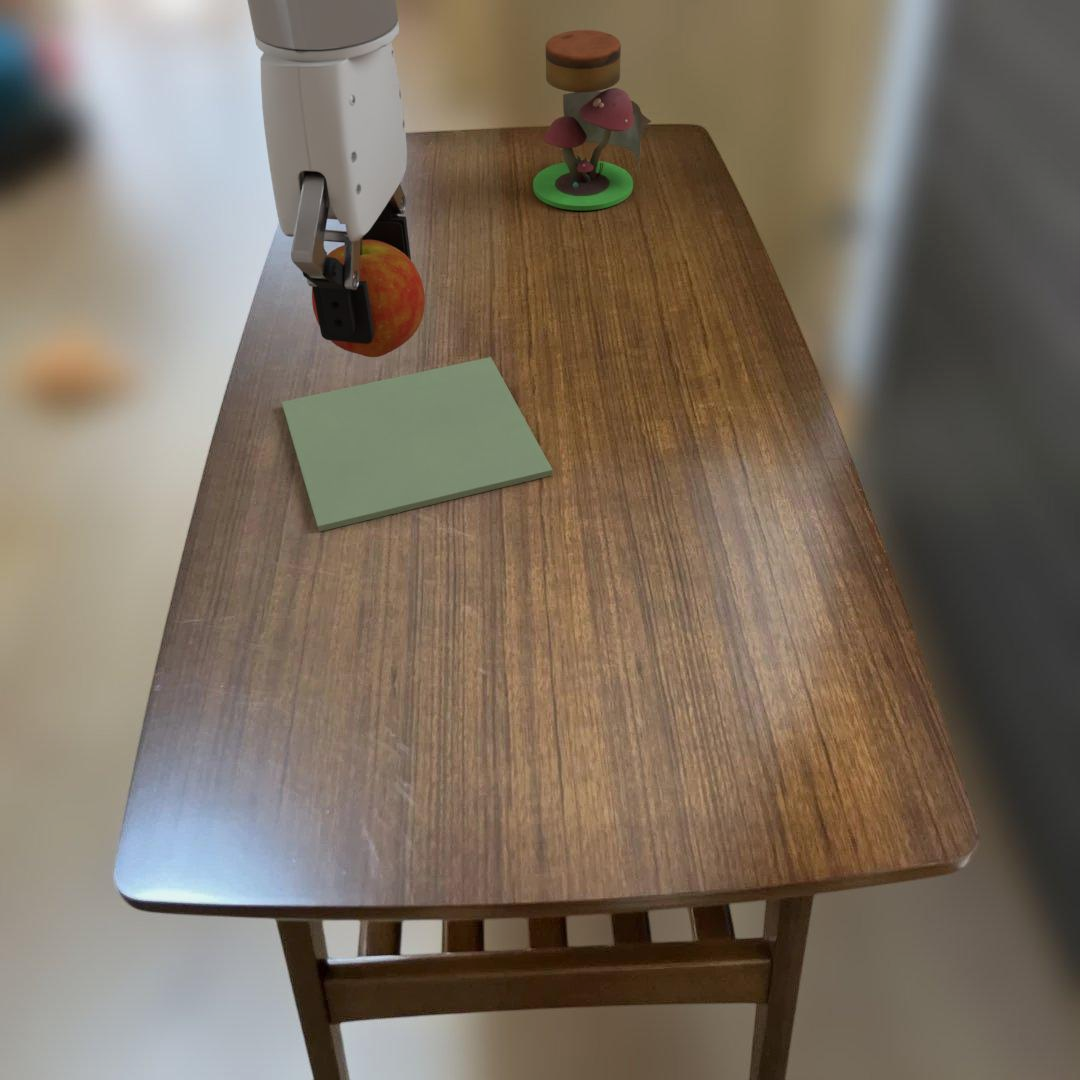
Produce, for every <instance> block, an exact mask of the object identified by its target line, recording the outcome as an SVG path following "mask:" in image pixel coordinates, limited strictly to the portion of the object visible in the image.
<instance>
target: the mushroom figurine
mask: <svg viewBox="0 0 1080 1080" xmlns="http://www.w3.org/2000/svg"><path fill="white" fill-rule="evenodd" d="M621 47H622V45H621V42H620V39H618V38H617V37H616V36H615V35H613V34H610V33H608V32H605V31H601V30H593V29H592V30H591V29H578V30H569V31H563V32H561V33H558V34H555V35H553V36H552V37H550V38H549V39H548V40H547V41H546V43H545V79H546V82H547V83H548V85H550V86H551V87H552V88H555V89H557V90H561V91H564V92H569V93H565V94H562V108H563V109H562V111H563V116H560V117H558V118H556V119H554V120H553V122H552V123H551V124H550V125H549V127H548V128H547V130H546V132H545V134H544V135H543V137H542V140H543V142H544V143H545V144H548V145H551V146H554V147H557V148H562V159H563V161H562V162H558V163H554V164H552V165H550V166H547V167H545V168H544V169H542V170H541V171H538V173H537V174H536V175H535V177H534V178H533V181H532V190H533V193H534V195H535V196H536V197H537V198H538V200H540V201H541V202H543V203H545V204H546V205H548V206H551V207H554V208H557V209H562V210H568V211H580V212H581V211H582V212H583V211H585V212H586V211H596V210H602V209H606V208H607V209H608V208H610V207H613V206H615V205H616V206H617V205H618V204H620V203H623V202H624V201H625V200H626V199H628V198H629V197H630V195H631V194H632V192H633V189H634V179H633V177H632V175H631V174H630V173H629V172H628V171H627V170H626V169H624V168H622V167H620V166H618V165H617V164H614V163H610V162H606V161H601V160H600V157H601V153H602V151H603V150H604V149H605V148H606V147H607V145H610V146H615V147H616V146H617V147H622V148H624V149H628V150H629V151H631V152H632V153H633V154H634V155H635V158H636V159H637V161H638V162H637V163H638V166H639V167H638V168H639V169H638V170H640V166H641V165H640V164H641V140H642V136H643V133H644V131H645V129H646V127H647V125H648V124H650V123H651V122H652V120H650V119H649V118H648V117H646V115H644V114H643V113H642V111H641V108H640V105H639V104H637V102H635V101H633V100H631V98H630V96H629V94H628V93H627V92H626V91H625V90H623V89H621V88H617V87H614V86H615V85H617V84H618V83H619V81H620V78H621V53H622V52H621V50H622V49H621ZM612 87H613V88H612ZM585 143H592V144H593V143H596V144H598V145H597V146H596V147H595V149H593V152H592V154H591V157H590V159H588V157H585V158H584V159H582V158H581V157H580V156H579V155H575V152H574V150H573V148H574V149H575V148H577V147H580V146H582V145H584V144H585Z"/></svg>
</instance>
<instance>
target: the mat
mask: <svg viewBox="0 0 1080 1080" xmlns="http://www.w3.org/2000/svg"><path fill="white" fill-rule="evenodd" d="M281 406H282V410H283V412H284V416H285V420H286V424H287V427H288V430H289V434H290V436H291V440H292V445H293V447H294V451H295V455H296V458H297V462H298V465H299V468H300V472H301V476H302V478H303V481H304V482H303V483H304V485H305V489H306V492H307V496H308V500H309V502H310V506H311V510H312V513H313V517H314V521H315V524H316V528H317V530H318V532H319V533H321V532H325V531H329V530H333V529H337V528H340V527H345V526H349V525H353V524H357V523H361V522H366V521H370V520H375V519H378V518H382V517H386V516H391V515H394V514H395V515H396V514H399V513H403V512H407V511H411V510H415V509H420V508H424V507H428V506H431V505H435V504H440V503H441V504H442V503H444V502H448V501H452V500H457V499H461V498H465V497H469V496H473V495H478V494H481V493H487V492H490V491H493V490H497V489H502V488H506V487H510V486H514V485H518V484H524V483H526V482H530V481H531V482H532V481H536V480H539V479H543V478H548V477H551V476H553V468H552V466H551V464H550V463H549V461H548V459H547V457H546V455H545V453H544V452H543V450H542V448H541V446H540V444H539V442H538V440H537V438H536V437H535V435H534V433H533V431H532V430H531V428H530V426H529V424H528V422H527V420H526V418H525V417H524V415H523V413H522V411H521V409H520V407H519V406H518V403H517V402H516V400H515V398H514V396H513V395H512V393H511V391H510V390H509V387H508V386H507V384H506V382H505V380H504V378H503V376H502V374H501V373H500V371H499V369H498V367H497V365H496V364H495V362H494V360H493V358H492V356H488V357H483V358H479V359H474V360H469V361H465V362H461V363H456V364H451V365H446V366H441V367H437V368H433V369H427V370H424V371H418V372H414V373H409V374H405V375H400V376H396V377H391V378H386V379H382V380H377V381H372V382H368V383H367V382H366V383H362V384H359V385H354V386H350V387H345V388H344V387H343V388H339V389H334V390H332V391H326V392H321V393H316V394H312V395H306V396H302V397H297V398H293V399H288V400H283V401H281Z"/></svg>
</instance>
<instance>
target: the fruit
mask: <svg viewBox="0 0 1080 1080" xmlns="http://www.w3.org/2000/svg"><path fill="white" fill-rule="evenodd" d="M362 238H363V237H362ZM362 238H361V241H360V279H359V281H367V288H368V295H369V301H370V308H371V315H372V321H373V328H374V338H373V340H372V342H371V343H369V344H362V343H352V342H342V341H332V340H330V342H332V343H333V344H334V345H335V346H336V347H338V348H340V349H342V350H344V351H346V352H350V353H353V354H356V355H360V356H363V357H367V358H380V357H383V356H386V355H387V354H389V353H392V352H393V351H395V350H397V349H398V348H400V347H401V346H402V345H404V344H405V343H407V342H408V341H409V340H410V339H411V338H412V337H413V336H414V335H415V334H416V332H417V331H418V329H419V328H420V326H421V323H422V320H423V317H424V314H425V306H426V295H425V289H424V284H423V281H422V278H421V275H420V273H419V271H418V269H417V267H416V265H415V263H414V262H413V261H412V259H411V260H410V259H409V258H408V257H407V256H406V255H405V254H404V253H403V252H401V251H400V250H398V249H397V248H395V247H393V246H391V245H389V244H386V243H384V242H381V241H376V240H362ZM327 256H328V257H333V258H336V259H337V260H338V261H339V262H341V263H342V264H343V265H344V244H343V245H341V246H338V247H336V248H335V249H333V250H330V252H328V253H327ZM311 304H312V305H311V306H312V310H313V315H314V316H315V320H316V322H317V324H318V325H319V320H318V315H317V310H316V305H315V299H314V294H313V289H312V288H311Z"/></svg>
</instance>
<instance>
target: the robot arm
mask: <svg viewBox="0 0 1080 1080" xmlns="http://www.w3.org/2000/svg"><path fill="white" fill-rule="evenodd" d="M247 5H248V10H249V16H250V20H251V21H250V22H251V26H252V32H253V35H254V40H255V41H254V42H255V45H256V46H257V48H258V49H259V50H260V51H261V52H262V55H261V57H260V89H261V90H260V91H261V108H262V119H263V128H264V135H265V136H264V137H265V144H266V152H267V157H268V165H269V166H268V167H269V172H270V179H271V185H272V191H273V197H274V203H275V204H274V205H275V208H276V215H277V220H278V224H279V227H280V230H281V232H282V233H283V234H284V236H285V237H290V238H292V244H291V249H290V259H291V261H292V263H293V265H295V266H296V267H297V268H298V269H299V270H300V271H301V272H302V275H303V277H304V278H305V279H306V282H307V285H308V286H309V287H311V290H312V289H313V294H314V299H315V305H316V310H317V315H318V320H319V324H318V326H319V331H320V335H321V337H322V338H323V339H325V340H326V341H331V340H332V341H342V342H352V343H362V344H369V343H371V342H372V340H373V338H374V328H373V321H372V315H371V308H370V301H369V295H368V288H367V281H359V279H360V241H361V238H362V237H363V238H362V240H376V241H381V242H384V243H386V244H389V245H391V246H393V247H395V248H397V249H398V250H400V251H401V252H403V253H404V254H405V255H406V256H407V257H408V258H409V259H410V260H411V261H412V255H411V246H410V239H409V231H408V230H409V229H408V222H407V216H404V214H405V212H406V207H407V199H406V195H405V193H404V191H403V187H402V185H401V182H402V181H403V179H404V176H405V173H406V172H407V171H406V170H407V165H408V147H407V146H408V145H407V133H406V124H405V117H404V107H403V101H402V95H401V88H400V81H399V76H398V68H397V64H396V57H395V52H394V48H393V42H394V41H395V40H396V38H397V37H398V36H399V33H400V22H399V15H398V5H397V0H247ZM402 215H403V216H402ZM328 220H337V221H338V223H339V224H340V225H345V230H339V229H337V230H336V229H326V228H327V223H328ZM325 242H330V243H343V245H344V265H343V264H342V263H341V262H339V261H338V260H337V259H336V258H333V257H328V256H327V255H328V252H327V251H326V249H325ZM332 341H331V342H332Z"/></svg>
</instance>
